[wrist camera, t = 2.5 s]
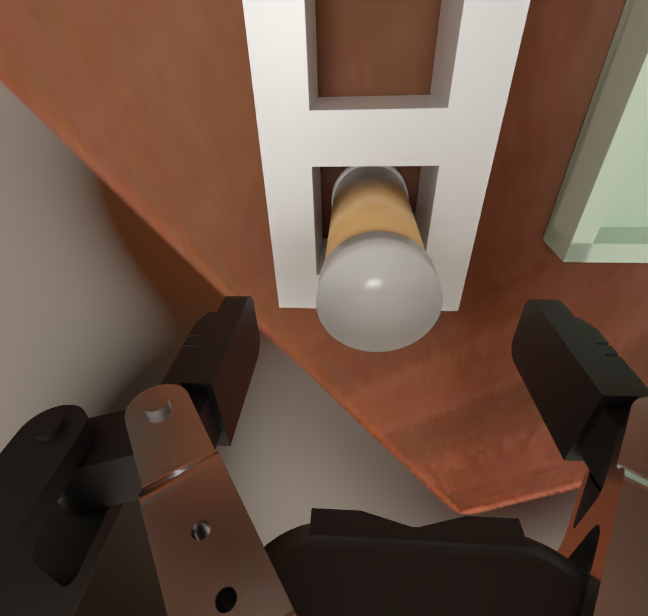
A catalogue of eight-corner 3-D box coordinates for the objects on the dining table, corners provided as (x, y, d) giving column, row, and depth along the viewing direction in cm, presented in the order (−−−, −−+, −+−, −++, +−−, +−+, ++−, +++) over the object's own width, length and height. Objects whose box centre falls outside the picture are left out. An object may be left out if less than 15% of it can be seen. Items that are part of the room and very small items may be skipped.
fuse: (332, 156, 18) (313, 248, 10) (409, 155, 18) (453, 249, 10) (332, 228, 21) (318, 350, 12) (402, 228, 20) (432, 353, 12)
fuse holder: (253, -133, 13) (219, -191, 10) (521, -150, 12) (581, -219, 9) (290, 268, 22) (279, 307, 19) (442, 270, 22) (458, 311, 18)
